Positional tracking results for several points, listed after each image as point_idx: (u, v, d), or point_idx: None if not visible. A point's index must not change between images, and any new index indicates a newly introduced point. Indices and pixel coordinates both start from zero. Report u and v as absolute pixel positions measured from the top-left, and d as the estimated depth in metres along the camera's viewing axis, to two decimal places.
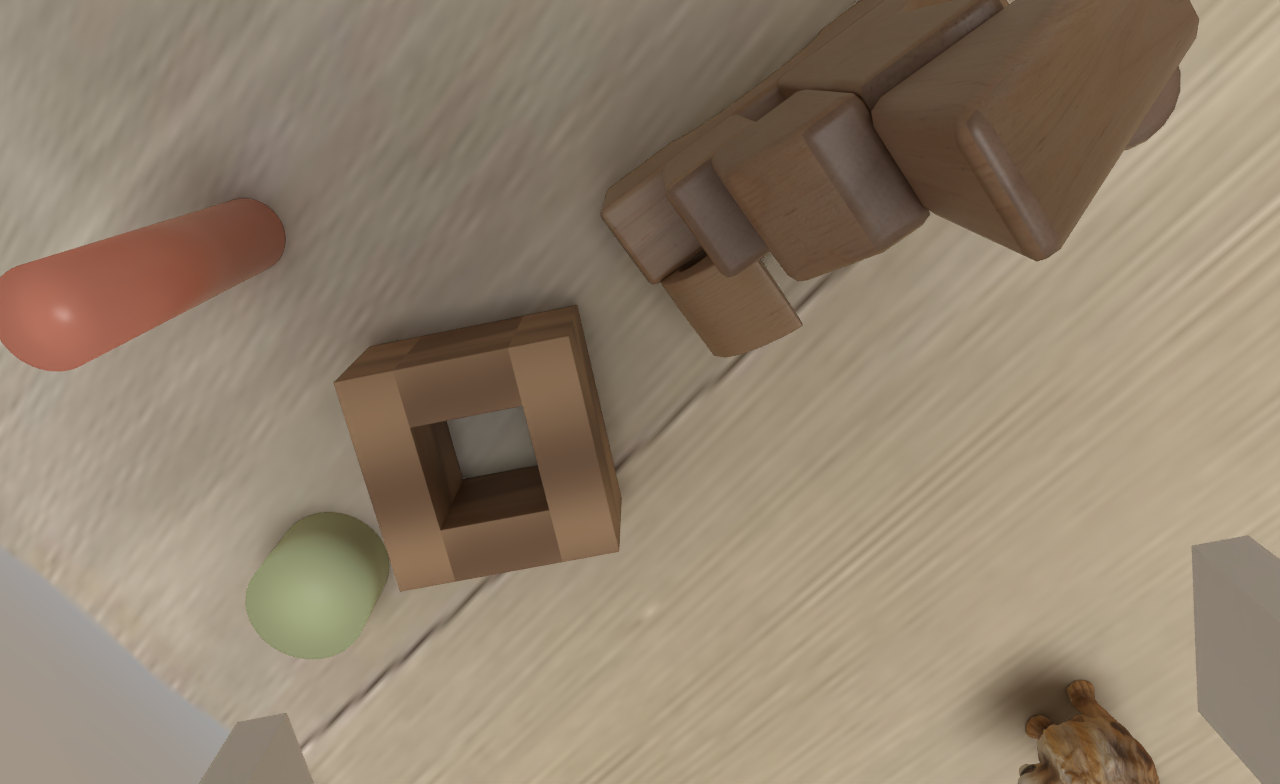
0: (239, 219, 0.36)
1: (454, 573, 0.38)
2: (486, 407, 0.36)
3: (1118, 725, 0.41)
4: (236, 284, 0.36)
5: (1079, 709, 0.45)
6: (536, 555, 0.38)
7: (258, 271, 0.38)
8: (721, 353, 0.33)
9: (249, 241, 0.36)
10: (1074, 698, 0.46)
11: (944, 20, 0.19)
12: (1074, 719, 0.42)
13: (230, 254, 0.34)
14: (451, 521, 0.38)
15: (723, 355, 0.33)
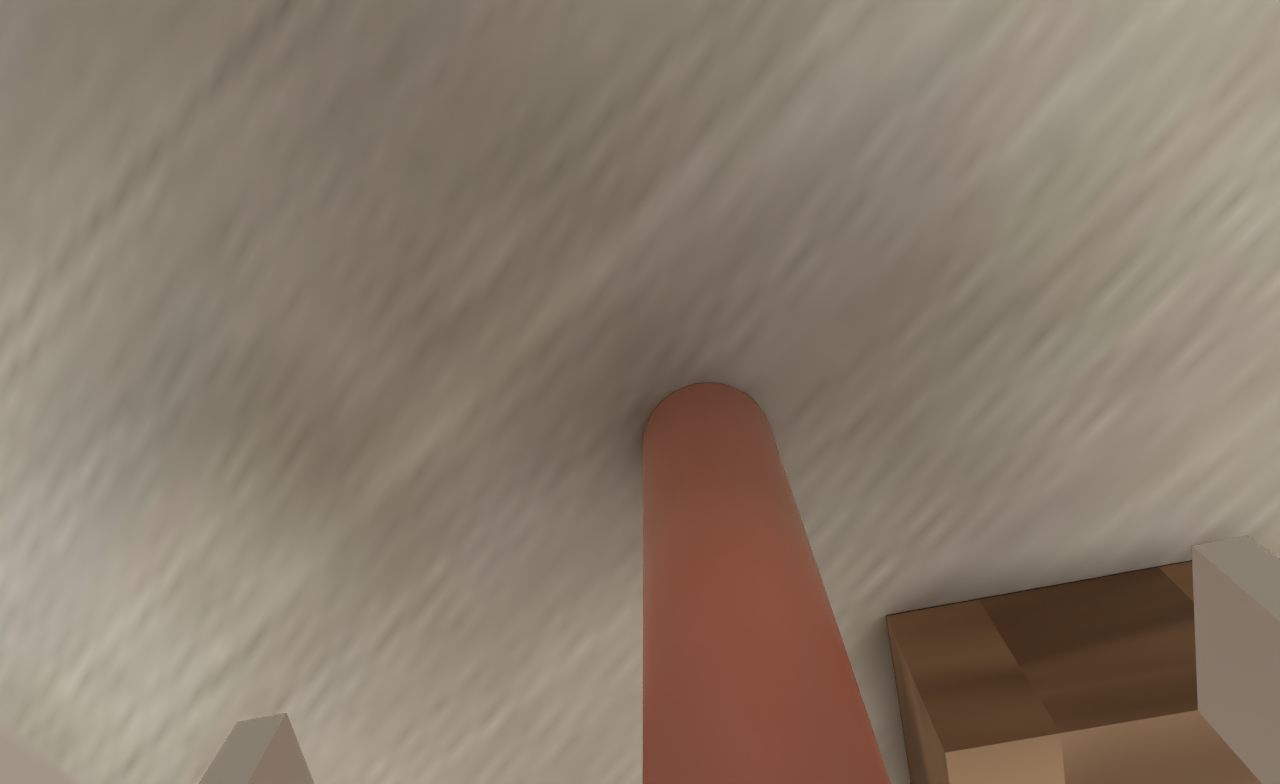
0: (768, 450, 0.19)
1: None
2: None
3: None
4: None
5: None
6: None
7: None
8: None
9: None
10: None
11: None
12: None
13: None
14: None
15: None
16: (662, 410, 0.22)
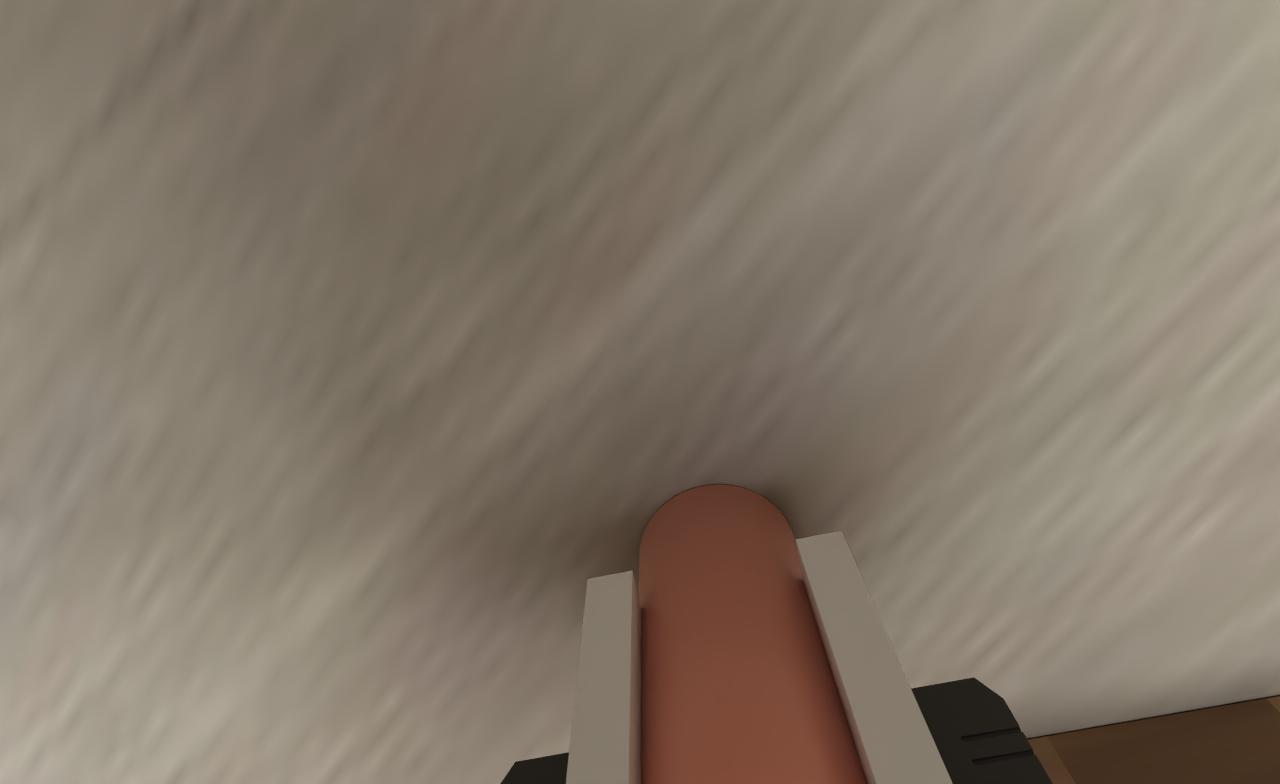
0: (797, 585, 0.15)
1: None
2: None
3: None
4: None
5: None
6: None
7: None
8: None
9: None
10: None
11: None
12: None
13: None
14: None
15: None
16: (662, 520, 0.18)
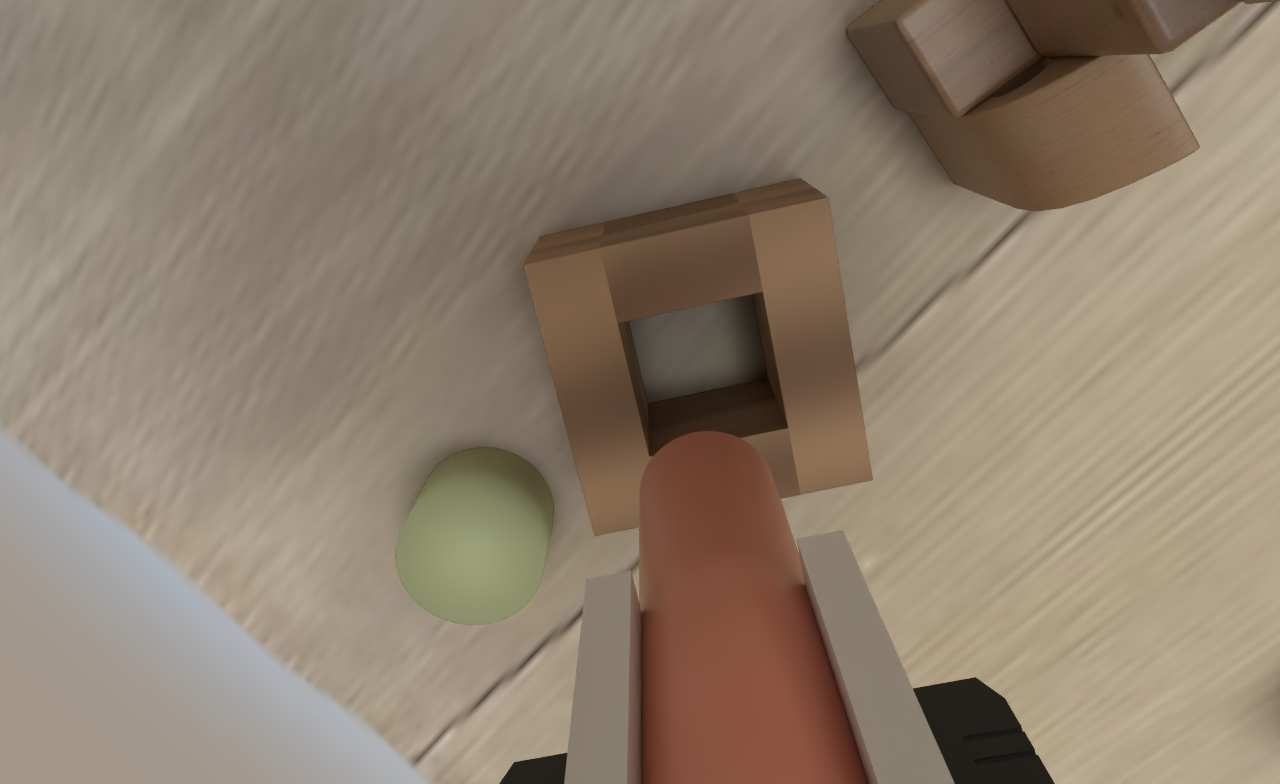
0: (773, 508, 0.18)
1: None
2: (716, 294, 0.28)
3: None
4: None
5: None
6: None
7: None
8: (1055, 204, 0.25)
9: None
10: None
11: None
12: None
13: None
14: (658, 446, 0.31)
15: (1058, 205, 0.25)
16: (659, 460, 0.20)
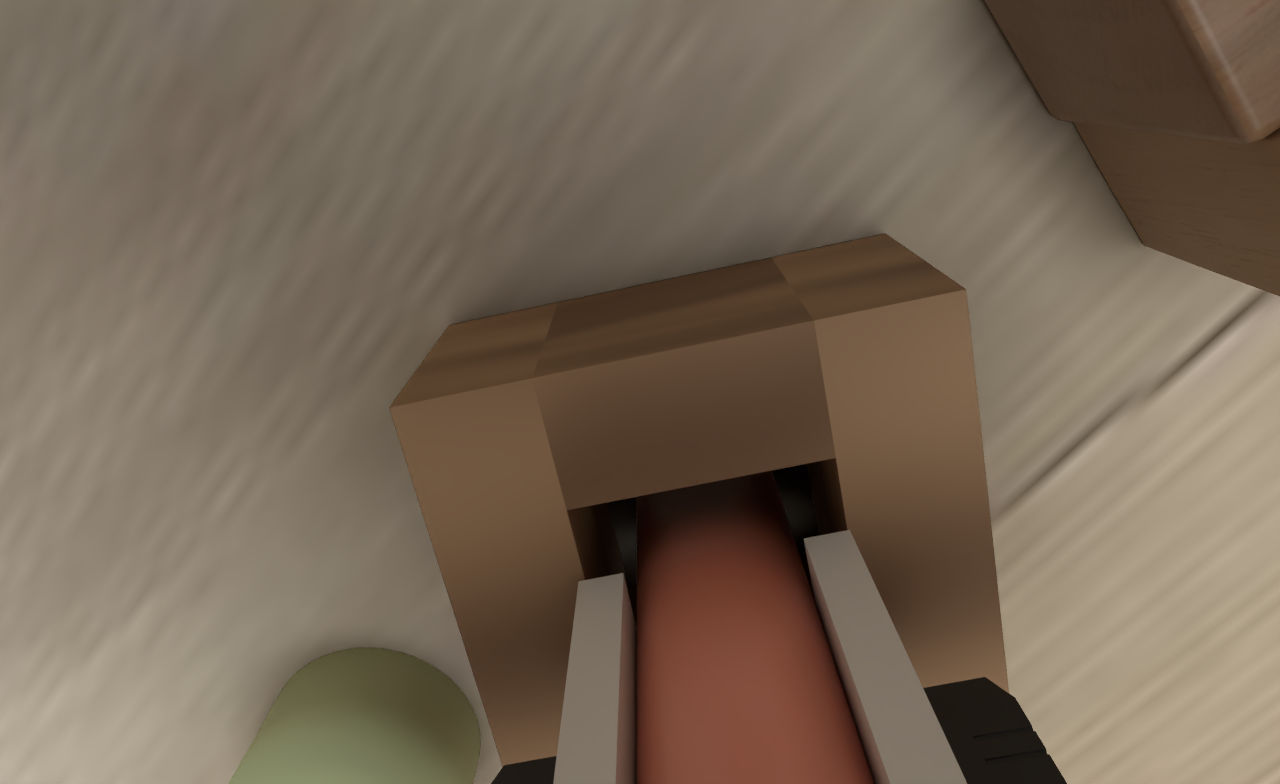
0: (772, 505, 0.18)
1: None
2: (750, 462, 0.15)
3: None
4: None
5: None
6: None
7: None
8: None
9: None
10: None
11: None
12: None
13: None
14: None
15: None
16: None
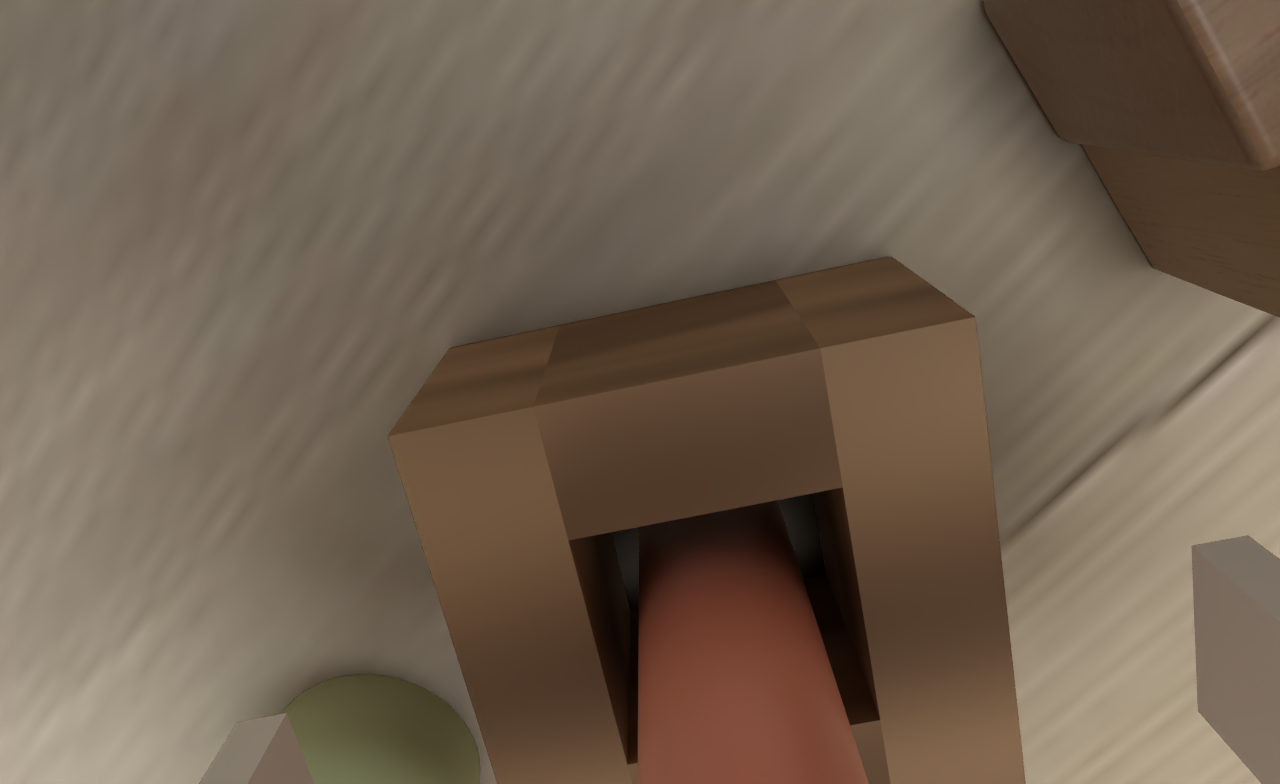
0: (777, 533, 0.17)
1: None
2: (755, 492, 0.15)
3: None
4: None
5: None
6: None
7: None
8: None
9: None
10: None
11: None
12: None
13: None
14: None
15: None
16: None
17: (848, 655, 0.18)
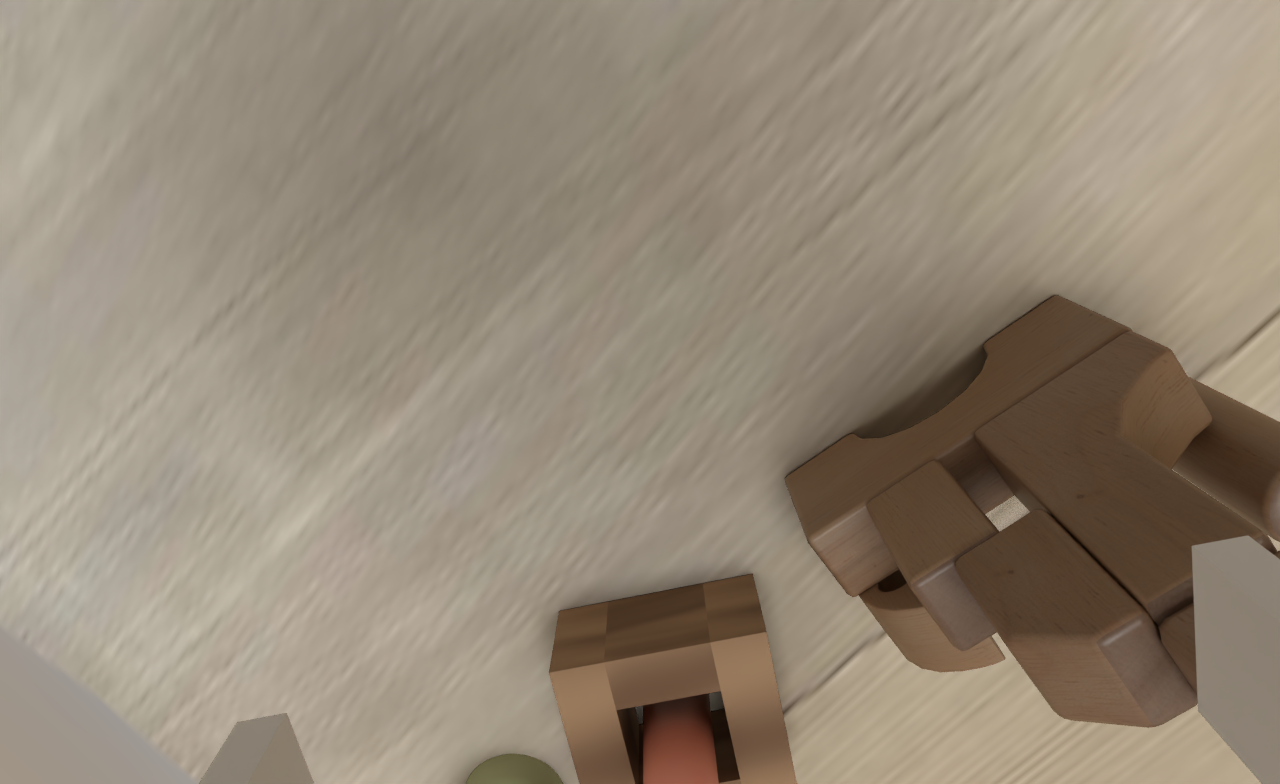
0: (700, 700, 0.42)
1: None
2: (687, 692, 0.39)
3: None
4: None
5: None
6: None
7: None
8: (918, 665, 0.36)
9: (711, 721, 0.42)
10: None
11: None
12: None
13: None
14: None
15: (920, 666, 0.36)
16: None
17: (732, 750, 0.43)
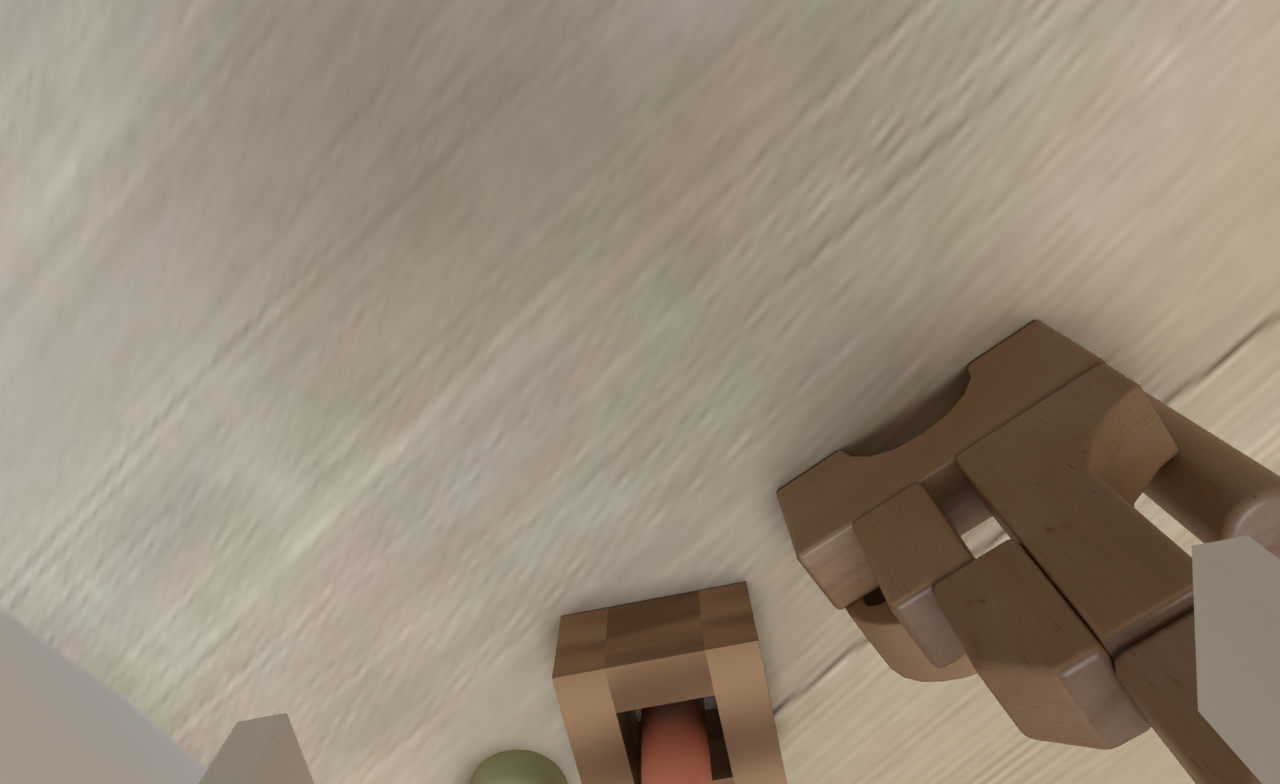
0: (696, 702, 0.44)
1: None
2: (683, 696, 0.42)
3: None
4: None
5: None
6: None
7: None
8: (900, 674, 0.38)
9: None
10: None
11: (1170, 592, 0.25)
12: None
13: None
14: None
15: (903, 675, 0.38)
16: None
17: (726, 748, 0.45)
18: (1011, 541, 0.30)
